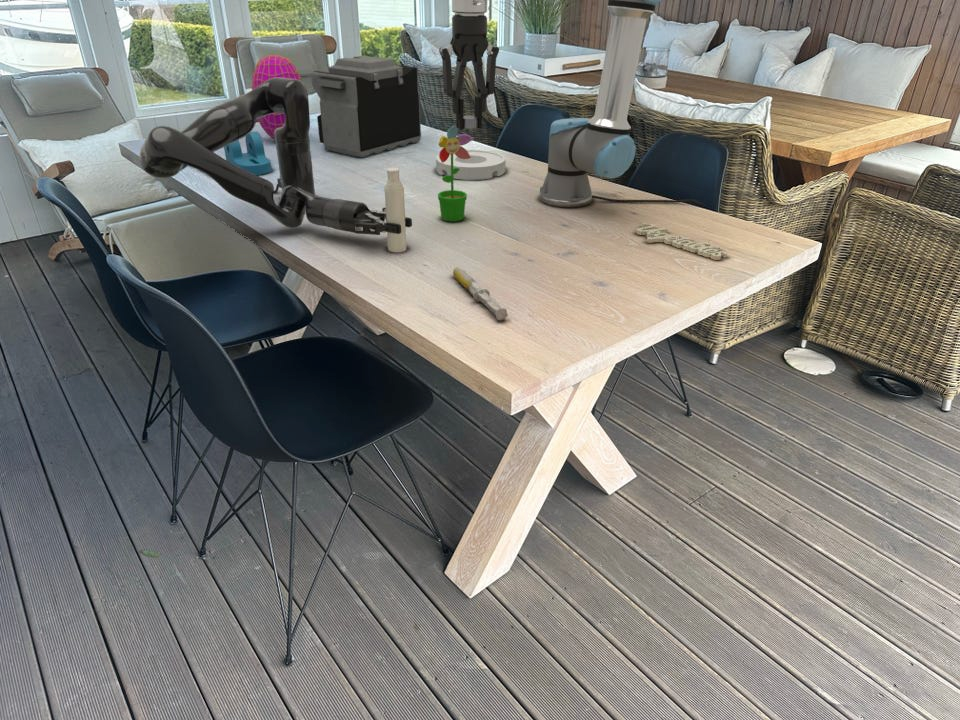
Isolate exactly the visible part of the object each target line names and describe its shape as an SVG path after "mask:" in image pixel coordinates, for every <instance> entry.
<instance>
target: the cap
mask: <svg viewBox="0 0 960 720" xmlns="http://www.w3.org/2000/svg"><path fill="white" fill-rule="evenodd" d="M477 127H478V117H476V116H475V115H463V129H465V130H473V129H478V128H477Z"/></svg>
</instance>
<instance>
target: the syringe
mask: <svg viewBox="0 0 960 720" xmlns="http://www.w3.org/2000/svg"><path fill="white" fill-rule="evenodd" d="M452 274H453V277H454V279H455V280H457V281H458V282H459V283H460V285H462V287H464V289H466V290H467V291H468V293H470V295H471V296H472V298H473V300H474V302H477V303H478V302H480V303H482V304H483V305H484V306H485V307H486V308H487V309H488V310H489V311H490V312H491V313H492V314H493V315H494V316H495V317H496V320H497V321H503V320H504V319H506V318H507V317H509V314H508V310H507V308H506V307H502V306H501V305H500V303H498V302H497V301H496V300H494V299H493V298H492V297H491V296H490V295H491V293H490V290H488V289H486V288H483V287H482V286H481V285H480V284H479V283H478V282H477V281H476V280H474V278H473V277H471V275H469V274H468V273H467V272H466V270H465V269H464V268H463V267H462V266H456V267H454V268H453V271H452Z"/></svg>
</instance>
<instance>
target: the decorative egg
mask: <svg viewBox="0 0 960 720" xmlns="http://www.w3.org/2000/svg"><path fill="white" fill-rule="evenodd" d="M253 70H254V71H253V73H252V77H251V90H253V89H255V88H256V87H258V86H259V85H261V84H262V83H264V82H265V81H267V80H269V79H271V78H275V77H280V78H289V79H297V80H299V81H301V82H302V83H303V81H302V77H301V75H300V73H299V71H298V69H297V67H296V66H295V65H294V63H293V62H292V61H291V60H290V59H288V58H287V57H285V56H282V55H280V54H268V55H265V56H262V57H261V58H260V59H259V60H258V61H257V62H256V65H255V68H254V69H253ZM257 122H258V123H259V125H260V127H261V128H262V130H263V131H264V133H266V135H267V136H268V137H270V138H271V139H273V140H275V134H274V131H275V129H276V128H278V127H281V126H284V124H285V114H282V113H273V114H269V115H266V116H264V117H262V118H260V119H258V120H257Z"/></svg>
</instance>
